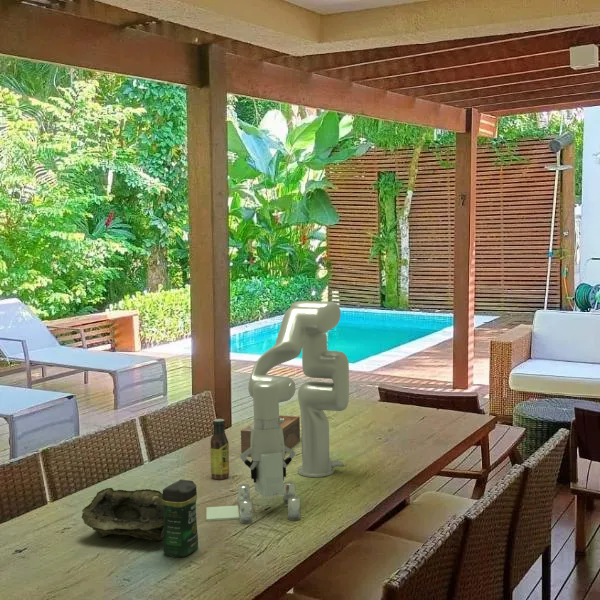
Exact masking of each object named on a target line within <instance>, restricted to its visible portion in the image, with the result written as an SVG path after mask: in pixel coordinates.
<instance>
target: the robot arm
mask: <svg viewBox="0 0 600 600" xmlns="http://www.w3.org/2000/svg"><path fill="white" fill-rule="evenodd" d="M341 313H342V312H341V308H340V306H339V305H338V303H336V302H334V301H320V300H319V301H318V300H317V301H316V300H310V301H309V300H300V301H298V300H297V301H295V302H292V303H291V304H290V307H289V308H288V309H287V310H286V311H285V312H284V315H283V317H282V320H281V324H280V328H279V331H278V334H277V338H276V340H275V344H274V345H273V346H272V347H270V348H269V349H268V350H266V351H265V352H264V353H263V354H262V355H261V356H260V357H259V358H258V359H257V361H256V362H255V364H254V365H253V367H252V371H251V374H250V377H249V380H248V381H249V382H248V393H249V395H250V397H251V398H252V399H253V400H252V401H253V422H254V426H253V427H252V429H251V440H250V448H249V449H247V450H246V451H245V452H243V453H242V454H240V455H239V458H240V460H241V461H242V462H244V464H245V465H246V467H248V468H249V470H250V478H251V479H250V480H253V483H254V484H255V483H256V468H255V466H256V464H257V462H259V461H260V454H265V453H281V452H282V457H283V482H284V481H285V478H286V477H287V467H288V465H289V464H290V463H291V462H292V461H293V458H294V457H295V456H296V451H295V450H293V449H292V448H291V449H290V448H288V447H287V446H285V445H284V436H283V430H282V426H281V425H280V423H284V418H280V417H279V416H280V405H279V404H280V403H285V402H288V401H290V400H291V399H292V398H293V397H294V395H295V393H296V390H297V389H296V384H295V381H294V380H293V379H292V378H290V377H289V376H283V375H282V376H280V375H267V374H268V372H269V371H271V370H272V369H273V368H275V367H276V366H278V365H281V364H283V363H287V362H289V361H291V360H294V359H296V358H298V357H299V356H300V355H302V357H301V360H302V362H301V363H302V367H301V368H302V373H303V375H304V376H306V377H308V378H313V379H324V380H325V379H326V380H327V379H328V380H332V382H328V381H327V382H325V381H307V382H303V383H302V384H301V385H299V388H298V391H297V398H298V405H299V409H300V418H301V419H300V421H301V423H300V425H301V426H300V429H301V466H299V467H298V468H297V473H298V474H299V475H301V476H303V477H308V478H323V477H327V476H328V477H329V476H331V475H333V474H334V472H335V467H336V468H337V467H340V468H341V467H344V460H340V459H332V458H331V457H330V421H329V418H328V416H327V415H326V413H325V412H324V411H327V412H328V411H331V412H342V411H345V410H346V409H347V407H348V405H349V401H350V364H349V363H350V362H349V359H348V356H347V355H346V354H345V353H344V352H343V351H338V350H329V349H328V337H327V332H329V331H330V330H333V329H334V328H336V327H337V326H338V324H339V322H340V319H341ZM285 451H286V453H288V454H289V455H288V456H287V457H286V453H285ZM250 453H251V457H250V459H251V461H250V460H249V459H248V458H247V457H246V456H248V455H249V454H250ZM285 457H286V458H285Z"/></svg>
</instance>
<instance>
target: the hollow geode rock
mask: <svg viewBox="0 0 600 600" xmlns="http://www.w3.org/2000/svg"><path fill="white" fill-rule="evenodd" d="M162 493H163V492H162V491H159V490H156V489H148V488H146V489H136V490H125V489H117V490H115V489H113V488H112V487H108V488H107V487H106V488H105V489H101V490H99V491H97V493H96V495H95V496H94V497H93V499H92V500H91V502H90V503H89V504H88V505H87V506H84V508H83V509H82V514H81V519H82V521H83V524H85V525H86V526H87V527H89V528H92V530H94V531H95V532H97V533H98V535H99V538H102V537H107V536H108V535H112V534H113V535H118V536H120V535H123V536H132V537H134V538H136V539H144V540H149V541H156V542H158V541H159V542H163V541H164V507H163V502H162Z"/></svg>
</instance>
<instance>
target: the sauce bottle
mask: <svg viewBox="0 0 600 600" xmlns="http://www.w3.org/2000/svg"><path fill="white" fill-rule="evenodd" d="M225 424H226V421H225V419H223V418H216V419H212V425H213V434H212V436H211V438H210V441H209V443H210V447H209V449H210V473H211V475H210V476H211V478H212V479H214V480H224V479H227V478H229V476H230V475H229V473H230V453H229V452H230V451H229V450H230V448H229V445H230V444H229V440H228V437H227V434H226V431H225V430H226V429H225Z"/></svg>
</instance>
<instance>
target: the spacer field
mask: <svg viewBox="0 0 600 600" xmlns="http://www.w3.org/2000/svg"><path fill="white" fill-rule="evenodd" d="M283 484H284V495H283V503H284V504H285V505H287V519H288V520H289V521H294V522H295V521H299V520H300V519H301V503H300V501H301V500H300V497H299V496H296V484H295V482H294V481H285V482H283ZM250 488H251V487H250V484H247V483H241V484H239V485H237V493H238V494H237V495H238V497H237V498H238V501H237V503H238V507H239V522H240V523H241V524H250V523H252V522H253V501H252V499H251V491H250Z"/></svg>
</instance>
